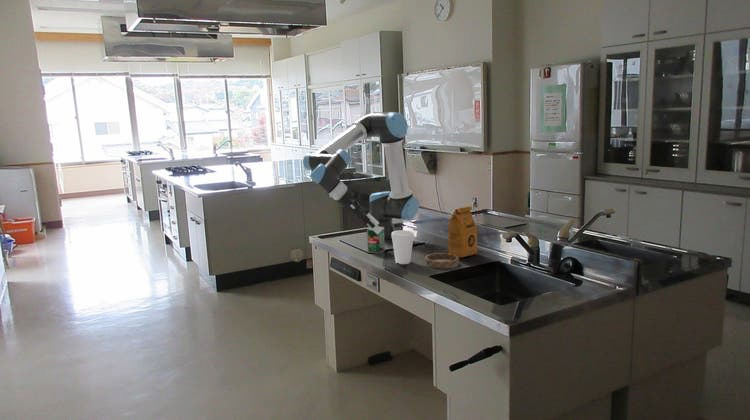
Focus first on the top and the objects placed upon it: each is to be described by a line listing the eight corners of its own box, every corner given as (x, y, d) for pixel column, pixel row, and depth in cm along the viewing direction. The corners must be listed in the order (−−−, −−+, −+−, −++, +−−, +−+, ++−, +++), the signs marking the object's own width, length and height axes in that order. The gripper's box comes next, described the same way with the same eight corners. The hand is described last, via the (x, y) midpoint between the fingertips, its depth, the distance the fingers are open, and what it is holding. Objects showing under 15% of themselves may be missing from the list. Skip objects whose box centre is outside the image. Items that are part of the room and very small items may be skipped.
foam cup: (418, 262, 231) (417, 233, 228) (400, 266, 226) (400, 236, 224) (405, 257, 239) (405, 229, 236) (387, 261, 234) (387, 232, 231)
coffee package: (480, 255, 241) (481, 206, 237) (462, 260, 234) (462, 210, 229) (463, 250, 249) (464, 204, 245) (445, 255, 241) (445, 207, 237)
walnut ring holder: (422, 259, 235) (422, 253, 234) (454, 258, 236) (454, 252, 235) (428, 269, 221) (428, 262, 221) (461, 268, 222) (461, 261, 222)
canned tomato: (385, 249, 254) (385, 226, 252) (383, 253, 247) (383, 230, 245) (369, 248, 256) (368, 226, 254) (366, 253, 248) (365, 229, 246)
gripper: (335, 196, 237) (370, 228, 241) (335, 206, 213) (374, 241, 217) (347, 184, 237) (382, 216, 241) (349, 192, 212) (387, 228, 216)
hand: (378, 228), depth 229 cm, fingers open, 13 cm apart
